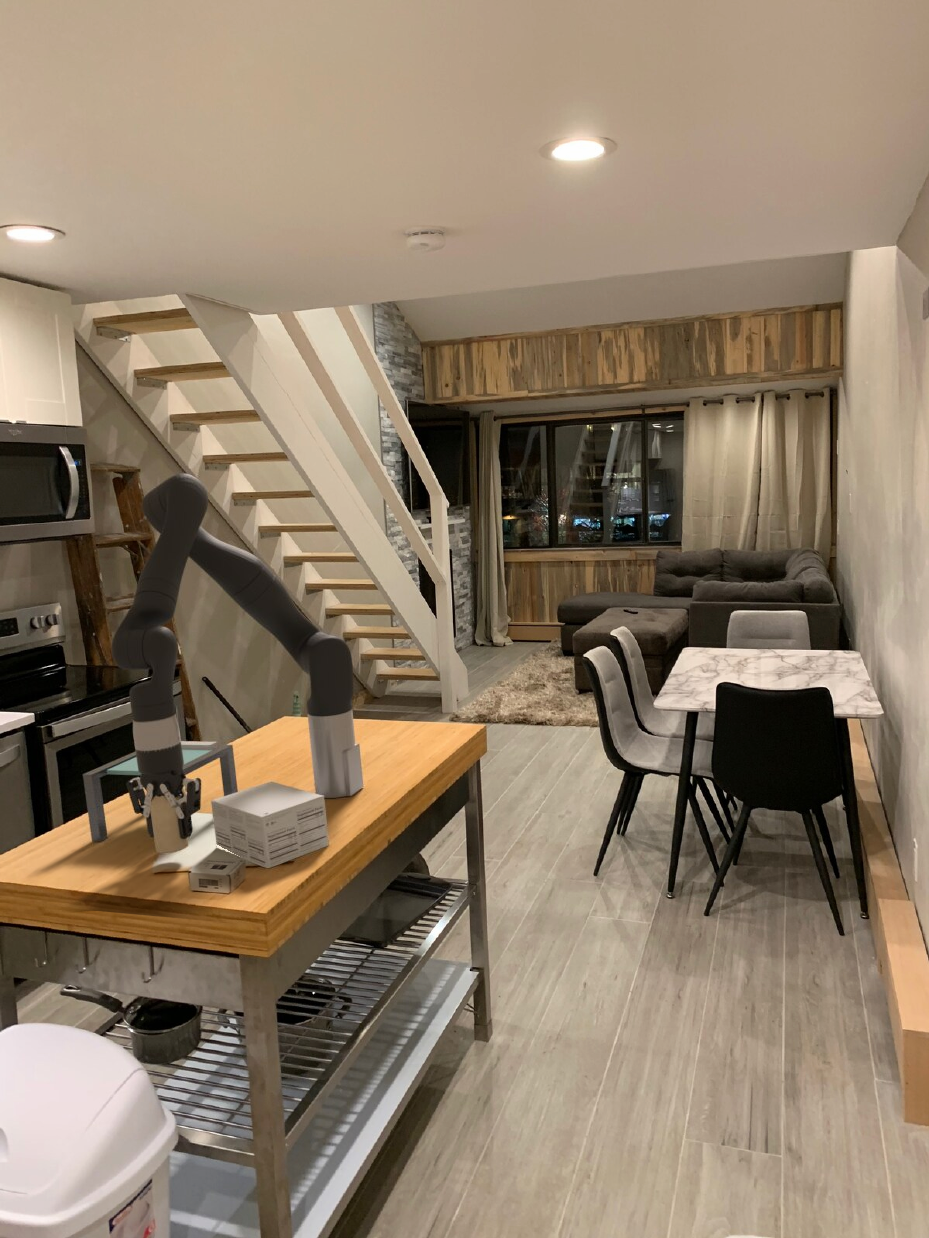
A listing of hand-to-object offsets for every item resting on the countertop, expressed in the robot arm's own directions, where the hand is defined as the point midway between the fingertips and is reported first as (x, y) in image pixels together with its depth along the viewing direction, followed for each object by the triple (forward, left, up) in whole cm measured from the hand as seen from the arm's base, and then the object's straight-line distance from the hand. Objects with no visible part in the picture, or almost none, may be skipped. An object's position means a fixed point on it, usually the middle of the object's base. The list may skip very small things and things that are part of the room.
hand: (170, 836), depth 161 cm
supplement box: (-14, -9, -5) cm, 18 cm away
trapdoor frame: (+14, -17, -5) cm, 22 cm away
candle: (0, 0, -2) cm, 2 cm away
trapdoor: (+14, -19, +7) cm, 24 cm away
